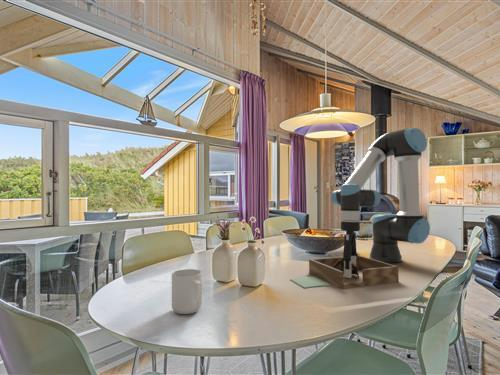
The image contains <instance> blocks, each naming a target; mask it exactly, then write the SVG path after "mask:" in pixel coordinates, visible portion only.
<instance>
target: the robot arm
mask: <svg viewBox="0 0 500 375" xmlns="http://www.w3.org/2000/svg"><path fill="white" fill-rule="evenodd" d="M427 142H428V140H427V138H426V135H425V133H424V132H423V130H421V129H420V128H418V127H411V128H404V129H400V130H395V131H390V132H387V133H384V134H383V135H381V136H379V137H378V138H377V139H376V140H375V141H373V143H372V144H371V145H370V147H369V148H368V149H367V151H366V155H365V157H364V158H363V159H362V160H361V162H360V163H359V164H358V165H357V166H356V168H355V170H354V171H353V172H352V173H351V175H350V176H349V178H348V179H347V180H346V182H344V183H343V184H342V185H341V188H340V189H337V190H334V191H332V193H331V195H330V198H331V199H330V200H331V202H332V204H333V205H335V206H337V207H340V212H339V216H340V220H341V221H340V230H341V231H343V232H344V231H345V234H344V235H343V238H344V239H343V240H344V242H343V253H342V257H343V258H342V260H343V261H344V278H347V279H348V278H349V279H351V278H352V275H351V262H352V263H353V264H354V265H355V266H356V256H358V255H359V254H358V253H357V240H356V239H357V236H356V235H357V233H356V232H359V231H360V230H361V222H360V220H361V212H360V210H361V208H375V207H377V206H379V204H381V199H382V198H381V197H382V196H381V194H380V193H379V191H378V190H375V189H362V188H363V187H364V185H365V184H366V183H367V181H368V180H369V178H370V177H371V176H372V174H374V172H375V170H376V169H377V167H378V166H379V165H380V164H381V163H382V162H383V163H384V161H385V160H386V159H387V158H388V157H391V156H393V158H394V160H396V161H397V173H398V175H397V177H398V199H399V200H398V202H399V203H398V204H399V206H398V207H399V211H398V212H397V213H394V214H392V213H391V214H380V215H374V216H373V217H372V223H371V224H372V247H371V250H370V252H369V258H370V259H374V260H377V261H381V262H384V263H388V264H390V263H391V264H393V263H401V262H402V261H403V258H402V257H403V256H402V255H401V251H400V248H399V246H398V243H399V242H403V243H410V244H423V243H424V242H425V241H426V240H427V238H428V237H429V234H430V230H431V227H430V225H431V224H430V222H429V221H428V220H427V219H426V218H424V213H423V212H421V211H420V184H419V183H420V182H419V177H420V176H419V160H420V159H421V158H422V153H423V152H424V151H425V150H427V145H428V143H427Z"/></svg>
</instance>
